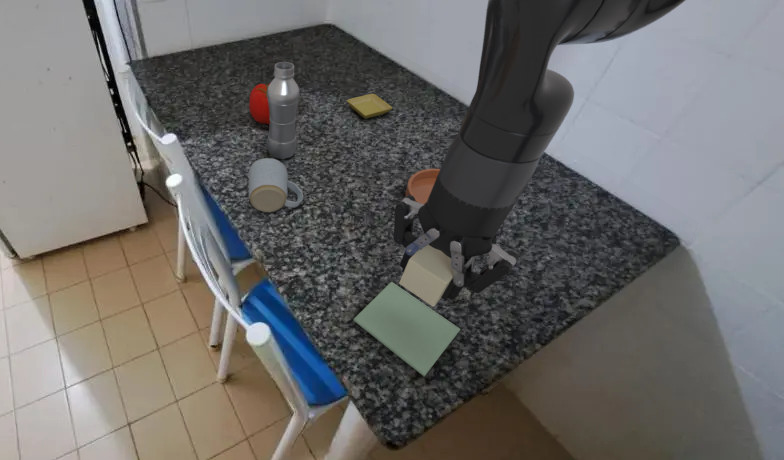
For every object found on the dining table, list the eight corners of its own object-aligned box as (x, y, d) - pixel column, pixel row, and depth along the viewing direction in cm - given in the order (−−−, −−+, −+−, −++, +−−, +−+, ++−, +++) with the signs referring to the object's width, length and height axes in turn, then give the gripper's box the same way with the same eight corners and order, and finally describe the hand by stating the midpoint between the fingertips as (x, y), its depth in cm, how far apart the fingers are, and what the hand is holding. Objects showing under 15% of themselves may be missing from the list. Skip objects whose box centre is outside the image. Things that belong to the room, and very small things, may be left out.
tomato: (283, 136, 93) (284, 102, 87) (241, 126, 96) (239, 93, 89) (297, 115, 100) (299, 82, 93) (258, 106, 102) (257, 74, 96)
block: (452, 284, 51) (467, 260, 47) (433, 307, 48) (447, 283, 44) (418, 262, 53) (430, 237, 49) (398, 283, 51) (409, 259, 47)
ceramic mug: (248, 215, 74) (248, 184, 68) (249, 187, 80) (248, 156, 74) (304, 215, 74) (308, 184, 69) (300, 187, 80) (304, 156, 75)
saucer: (363, 122, 98) (365, 115, 96) (344, 106, 103) (346, 99, 102) (391, 115, 100) (393, 107, 99) (371, 100, 106) (373, 92, 104)
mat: (459, 330, 58) (460, 329, 57) (424, 376, 53) (425, 375, 52) (390, 283, 64) (391, 281, 63) (353, 320, 59) (353, 318, 58)
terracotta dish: (491, 201, 78) (496, 191, 76) (457, 237, 71) (462, 227, 69) (427, 169, 85) (431, 160, 83) (391, 199, 78) (393, 190, 76)
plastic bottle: (296, 162, 86) (303, 73, 71) (266, 162, 86) (266, 73, 71) (296, 146, 90) (301, 58, 76) (266, 145, 90) (267, 58, 76)
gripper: (395, 163, 40) (364, 266, 52) (541, 238, 33) (465, 337, 45) (433, 135, 43) (395, 238, 56) (571, 197, 36) (493, 299, 49)
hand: (426, 282), depth 50 cm, fingers closed on block, 5 cm apart
